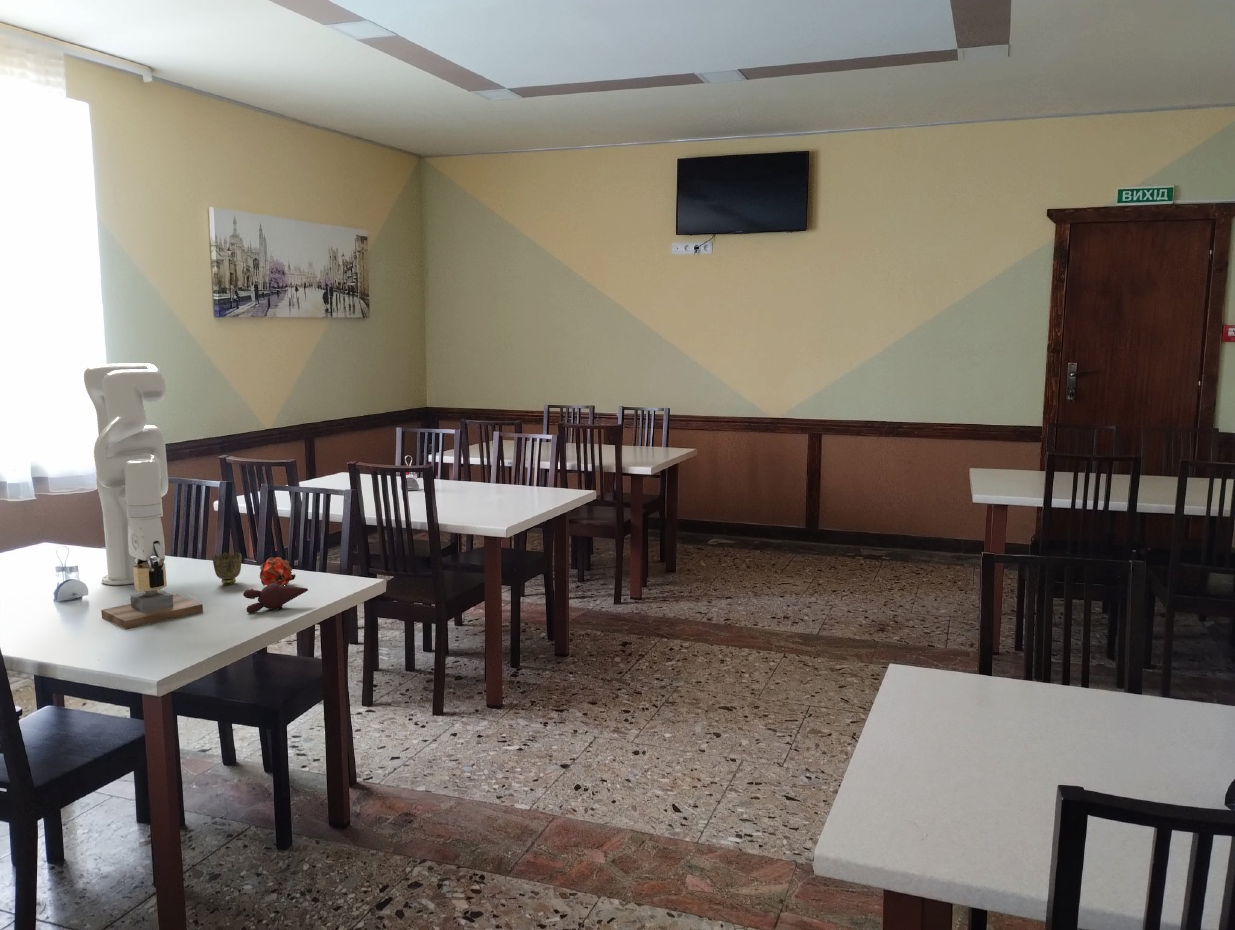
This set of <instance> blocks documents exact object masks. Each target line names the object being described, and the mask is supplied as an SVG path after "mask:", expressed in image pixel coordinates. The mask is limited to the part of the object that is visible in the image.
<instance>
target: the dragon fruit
mask: <svg viewBox="0 0 1235 930" xmlns="http://www.w3.org/2000/svg"><path fill="white" fill-rule="evenodd" d="M290 563H291V562H290V561H289V560H287V559H282V557H269V558H268V559H266V561H265V562H263V563H262V564H261V565H260V567H259V569H260V572H259V579H260V580H261V584H262V586H264V587H266V586H267V585H269V584H271V583H275V582H277V584H278V585H281V586H284V585H286V586H288V584H289V583H290V582H291V581H294V580H295V579H296V574H293V572H292V571H293V568H292V566H291V565H290Z"/></svg>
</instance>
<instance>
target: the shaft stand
mask: <svg viewBox="0 0 1235 930" xmlns="http://www.w3.org/2000/svg"><path fill="white" fill-rule="evenodd" d="M152 562H153V565H154V562H155V561H152ZM145 567H149V564H148V561H147V562H143V568H145ZM129 596H130V603H127V604H121V605H118V606H113V607H108V608H104V609H101V610H100V611H101V612H100V613H101V619H103V620H105V621H107V622H110V623H111V624H113V625H116V626H118V627H120V628H122V629H124V630H129V629H134V628H138V627H143V626H147V625H151V624H156V623H162V622H165V621H169V620H173V619H178V618H182V617H183V618H184V617H187V616H192V615H195V614H196V615H197V614H200V613H204V605H203V603H202V602H198V601H195V600H193V599H190V598H187V597H186V596H183V595H180V594H177V593H176V594H173V593H170V592H167V591H165V590H163V589H158V590H153V591H143V592H141V593H140V592H139V593H135V594H131V595H129Z"/></svg>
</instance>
